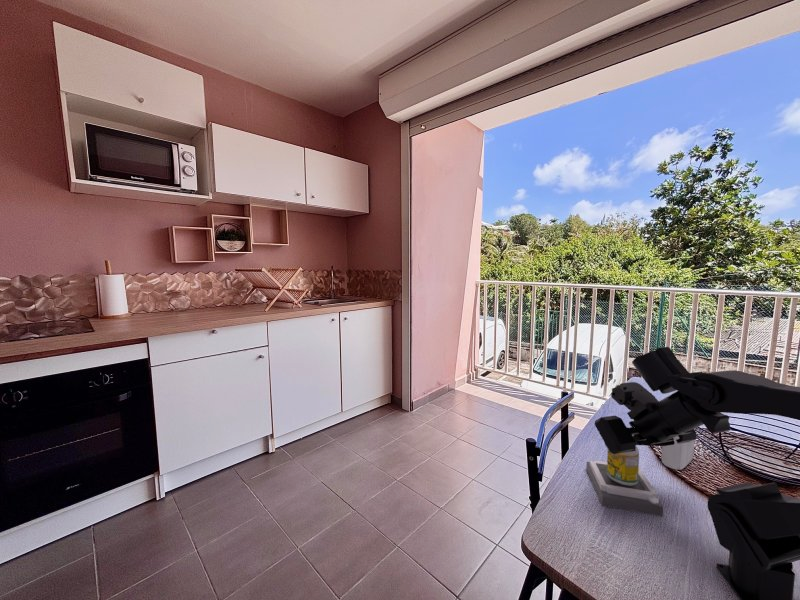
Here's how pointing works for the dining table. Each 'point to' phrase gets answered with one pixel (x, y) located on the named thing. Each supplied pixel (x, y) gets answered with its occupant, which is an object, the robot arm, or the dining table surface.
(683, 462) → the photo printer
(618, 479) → the supplement bottle
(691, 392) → the robot arm
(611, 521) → the dining table surface
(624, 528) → the dining table surface
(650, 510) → the grey square tray
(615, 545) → the dining table surface
